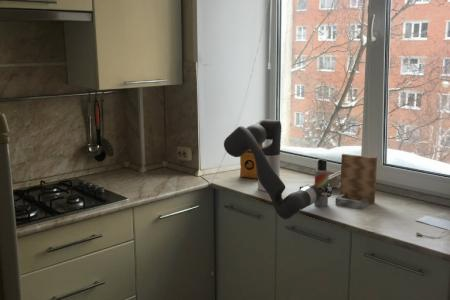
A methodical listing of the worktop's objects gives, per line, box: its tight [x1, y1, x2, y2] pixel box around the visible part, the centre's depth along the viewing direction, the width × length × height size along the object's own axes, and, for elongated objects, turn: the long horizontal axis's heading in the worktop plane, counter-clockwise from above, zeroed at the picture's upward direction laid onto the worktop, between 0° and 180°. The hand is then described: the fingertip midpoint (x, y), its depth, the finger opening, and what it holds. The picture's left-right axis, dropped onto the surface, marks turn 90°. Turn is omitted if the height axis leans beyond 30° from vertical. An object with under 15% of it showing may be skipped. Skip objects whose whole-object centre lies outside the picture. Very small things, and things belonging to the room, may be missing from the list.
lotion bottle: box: [313, 158, 330, 207], centre depth 224 cm, size 6×6×20 cm
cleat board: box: [335, 153, 378, 210], centre depth 226 cm, size 15×12×20 cm
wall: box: [312, 170, 341, 189], centre depth 252 cm, size 16×9×15 cm
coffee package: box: [239, 143, 264, 180], centre depth 272 cm, size 10×12×22 cm
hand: (323, 186), depth 226 cm, fingers closed on lotion bottle, 5 cm apart
